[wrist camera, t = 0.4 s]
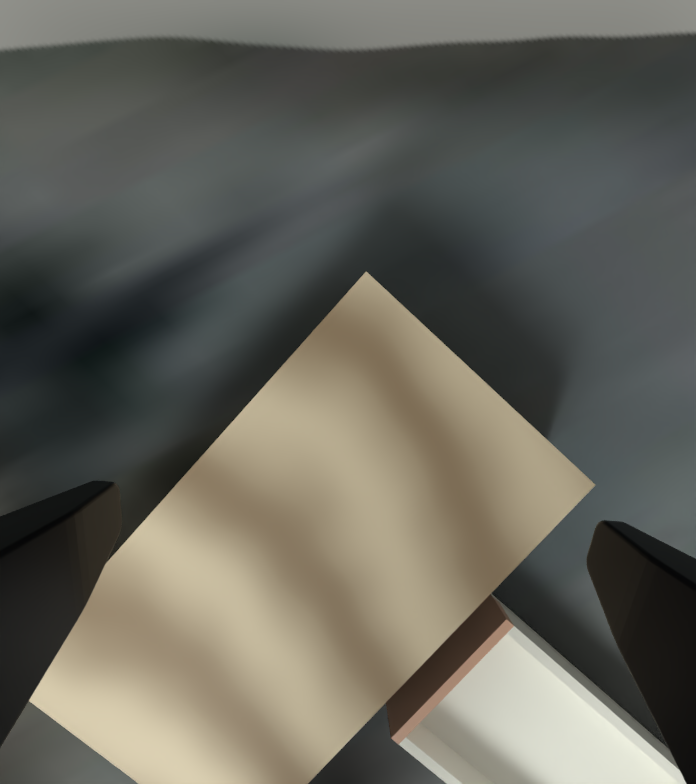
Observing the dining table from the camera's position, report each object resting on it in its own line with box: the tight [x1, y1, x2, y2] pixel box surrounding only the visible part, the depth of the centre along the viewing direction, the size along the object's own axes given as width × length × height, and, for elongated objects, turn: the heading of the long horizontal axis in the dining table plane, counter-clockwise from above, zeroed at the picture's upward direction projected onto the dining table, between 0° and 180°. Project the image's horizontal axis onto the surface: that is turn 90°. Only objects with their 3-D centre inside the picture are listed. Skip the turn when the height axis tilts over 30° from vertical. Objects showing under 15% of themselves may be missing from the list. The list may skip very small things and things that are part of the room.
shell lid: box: [386, 593, 686, 784], centre depth 25 cm, size 8×16×2 cm, turn 48°
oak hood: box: [29, 272, 595, 784], centre depth 22 cm, size 22×12×5 cm, turn 138°
